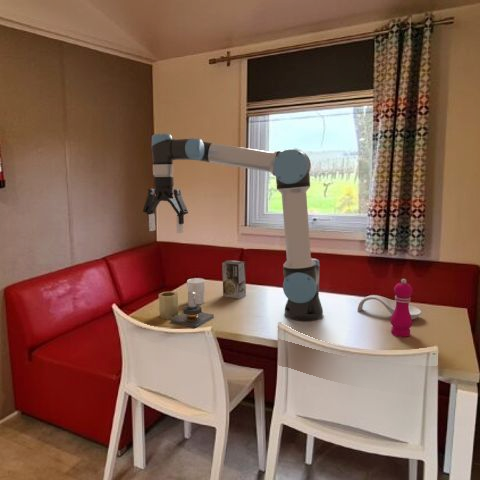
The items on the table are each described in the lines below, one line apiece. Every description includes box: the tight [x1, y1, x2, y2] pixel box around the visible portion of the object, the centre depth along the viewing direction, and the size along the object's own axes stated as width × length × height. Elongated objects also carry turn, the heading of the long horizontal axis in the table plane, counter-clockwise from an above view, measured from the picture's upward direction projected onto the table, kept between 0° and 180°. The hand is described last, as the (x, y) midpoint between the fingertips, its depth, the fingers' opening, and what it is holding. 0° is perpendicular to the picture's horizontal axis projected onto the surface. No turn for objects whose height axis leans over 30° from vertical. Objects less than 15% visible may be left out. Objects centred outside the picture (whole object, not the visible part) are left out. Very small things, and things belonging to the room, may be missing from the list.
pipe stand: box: [170, 291, 215, 329], centre depth 156 cm, size 12×12×11 cm
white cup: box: [186, 277, 206, 305], centre depth 177 cm, size 8×8×10 cm
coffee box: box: [221, 259, 247, 300], centre depth 185 cm, size 9×6×16 cm
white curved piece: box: [357, 294, 422, 320], centre depth 159 cm, size 24×12×7 cm, turn 61°
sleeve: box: [158, 291, 179, 320], centre depth 161 cm, size 7×7×9 cm
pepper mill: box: [389, 278, 414, 338], centre depth 140 cm, size 7×7×20 cm
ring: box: [182, 304, 202, 315], centre depth 156 cm, size 7×7×2 cm
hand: (165, 231), depth 156 cm, fingers open, 13 cm apart
